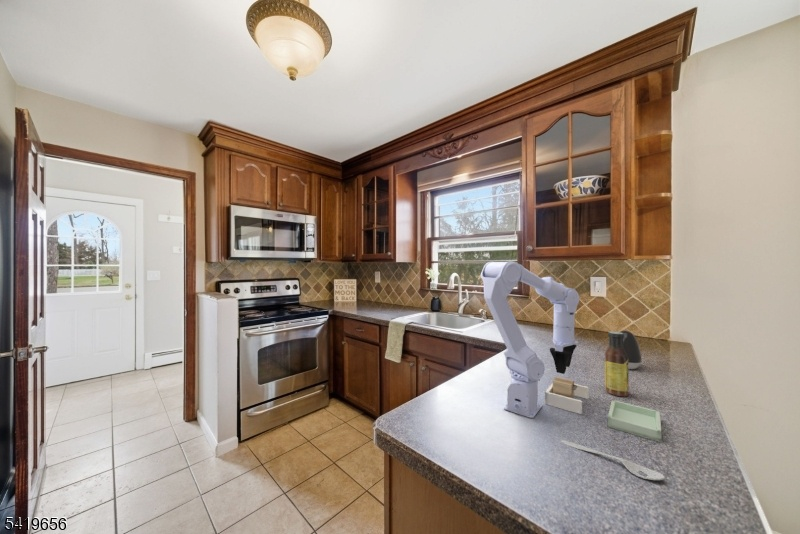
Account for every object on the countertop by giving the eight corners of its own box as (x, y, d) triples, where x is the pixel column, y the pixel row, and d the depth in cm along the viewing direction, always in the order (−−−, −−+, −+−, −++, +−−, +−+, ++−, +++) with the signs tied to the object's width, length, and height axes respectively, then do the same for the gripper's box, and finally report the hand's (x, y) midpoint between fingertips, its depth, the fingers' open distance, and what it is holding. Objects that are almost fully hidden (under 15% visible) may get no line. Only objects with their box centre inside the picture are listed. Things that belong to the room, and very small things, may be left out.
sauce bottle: (632, 398, 92) (633, 335, 92) (610, 396, 93) (611, 334, 93) (621, 389, 98) (622, 331, 98) (600, 388, 100) (601, 330, 100)
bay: (581, 414, 82) (581, 401, 82) (544, 403, 88) (544, 392, 88) (588, 398, 92) (588, 387, 92) (555, 389, 98) (555, 379, 98)
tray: (661, 442, 69) (661, 432, 69) (607, 426, 76) (607, 417, 76) (659, 420, 79) (659, 411, 79) (611, 408, 86) (612, 399, 86)
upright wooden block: (574, 406, 87) (575, 386, 87) (552, 400, 91) (552, 380, 90) (577, 401, 90) (577, 381, 90) (556, 395, 94) (556, 376, 94)
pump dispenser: (604, 365, 123) (605, 329, 123) (619, 361, 127) (619, 327, 127) (632, 373, 114) (632, 334, 114) (646, 369, 118) (647, 332, 118)
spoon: (663, 491, 55) (664, 482, 55) (548, 441, 70) (548, 434, 70) (666, 480, 57) (666, 471, 57) (554, 434, 73) (554, 428, 73)
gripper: (574, 331, 83) (574, 379, 83) (582, 324, 94) (581, 366, 94) (547, 328, 87) (546, 373, 87) (557, 321, 98) (557, 361, 98)
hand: (563, 369), depth 91 cm, fingers open, 7 cm apart
